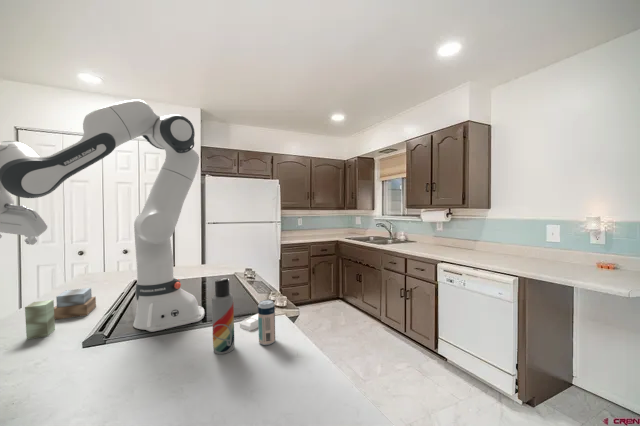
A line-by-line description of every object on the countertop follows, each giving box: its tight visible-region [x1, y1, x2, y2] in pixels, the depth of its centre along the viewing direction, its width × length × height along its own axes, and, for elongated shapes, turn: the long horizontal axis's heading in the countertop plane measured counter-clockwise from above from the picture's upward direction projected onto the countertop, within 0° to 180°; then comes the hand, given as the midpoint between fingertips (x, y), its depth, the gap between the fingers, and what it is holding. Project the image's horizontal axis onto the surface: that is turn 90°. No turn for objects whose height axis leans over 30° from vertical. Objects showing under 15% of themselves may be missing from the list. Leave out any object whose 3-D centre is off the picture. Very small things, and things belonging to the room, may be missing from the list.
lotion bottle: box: [211, 278, 235, 355], centre depth 80 cm, size 6×6×20 cm
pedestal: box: [54, 287, 97, 320], centre depth 109 cm, size 10×10×8 cm
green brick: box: [24, 299, 56, 340], centre depth 91 cm, size 5×5×10 cm
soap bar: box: [239, 313, 258, 332], centre depth 97 cm, size 5×9×3 cm, turn 146°
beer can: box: [257, 299, 276, 346], centre depth 84 cm, size 5×5×12 cm
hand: (14, 240), depth 81 cm, fingers open, 8 cm apart
